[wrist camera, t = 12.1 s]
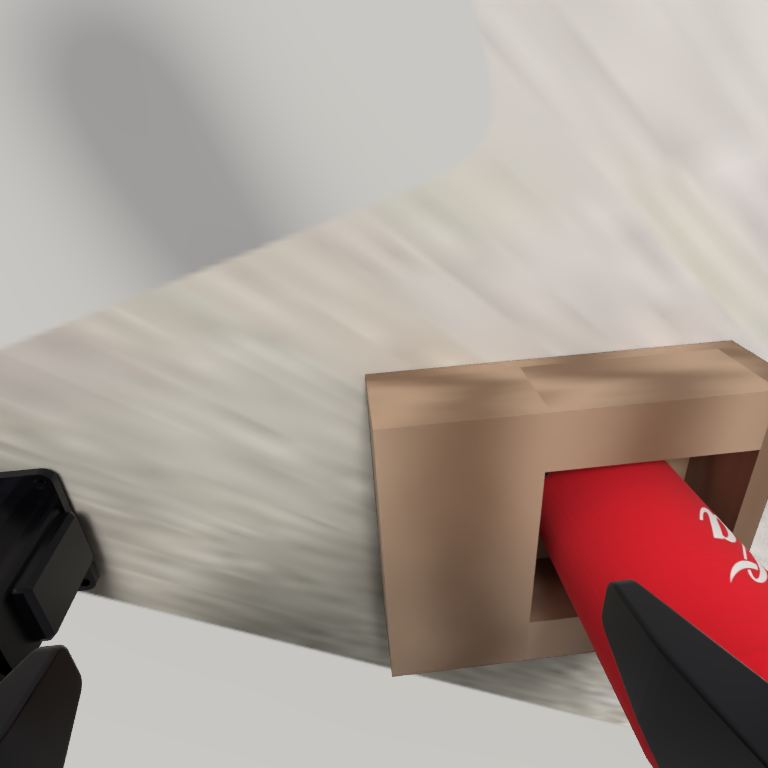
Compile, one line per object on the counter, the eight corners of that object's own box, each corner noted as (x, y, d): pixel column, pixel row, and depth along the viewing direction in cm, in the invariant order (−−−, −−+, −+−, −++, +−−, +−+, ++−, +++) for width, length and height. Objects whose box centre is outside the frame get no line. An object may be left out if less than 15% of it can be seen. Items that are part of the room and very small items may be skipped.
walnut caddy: (383, 602, 28) (392, 676, 24) (365, 374, 22) (372, 430, 18) (670, 569, 29) (718, 636, 25) (732, 340, 22) (807, 387, 19)
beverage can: (618, 550, 27) (807, 851, 16) (504, 527, 25) (630, 840, 15) (689, 448, 24) (971, 727, 14) (566, 415, 23) (775, 699, 12)
